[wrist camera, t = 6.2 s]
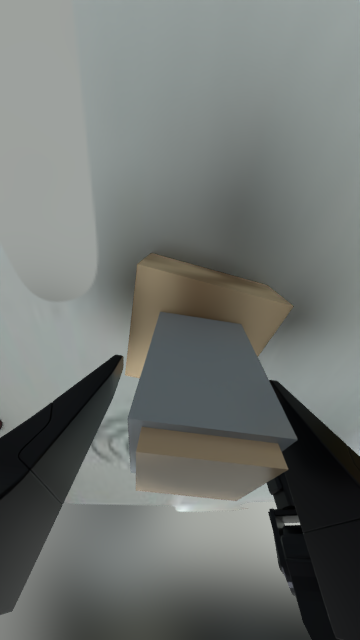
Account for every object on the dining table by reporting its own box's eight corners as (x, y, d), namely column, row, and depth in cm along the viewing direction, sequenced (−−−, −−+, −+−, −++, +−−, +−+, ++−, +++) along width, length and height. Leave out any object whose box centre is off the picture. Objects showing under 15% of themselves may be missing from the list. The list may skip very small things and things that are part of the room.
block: (265, 283, 12) (293, 306, 9) (221, 362, 17) (229, 396, 14) (152, 252, 12) (137, 264, 8) (138, 343, 16) (125, 375, 13)
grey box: (241, 324, 10) (310, 465, 4) (218, 376, 12) (242, 503, 7) (160, 311, 10) (120, 444, 4) (154, 367, 12) (126, 491, 7)
